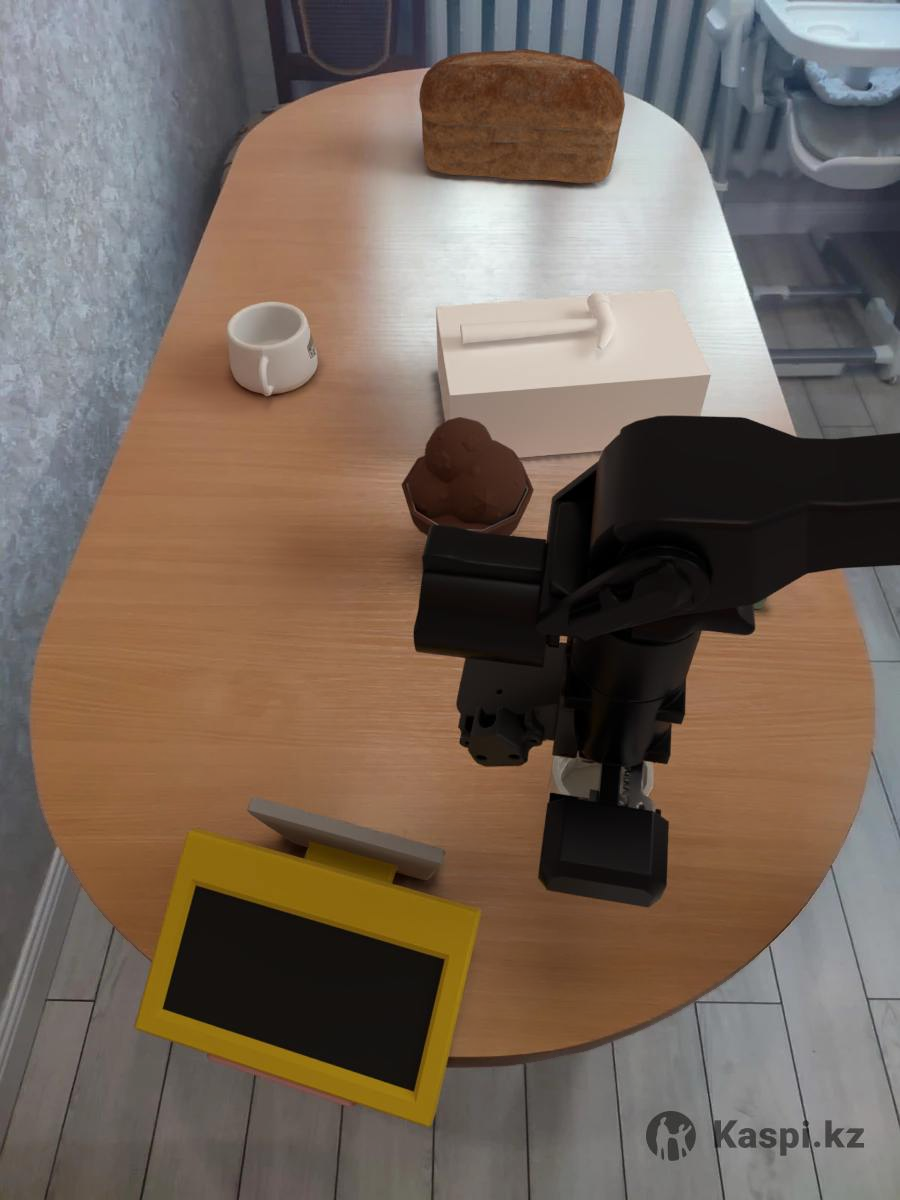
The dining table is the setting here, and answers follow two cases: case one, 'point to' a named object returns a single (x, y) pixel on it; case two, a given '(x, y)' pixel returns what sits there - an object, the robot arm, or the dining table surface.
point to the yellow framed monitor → (314, 962)
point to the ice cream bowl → (467, 481)
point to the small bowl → (587, 777)
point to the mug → (271, 348)
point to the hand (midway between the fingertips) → (596, 795)
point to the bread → (521, 116)
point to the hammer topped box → (568, 368)
